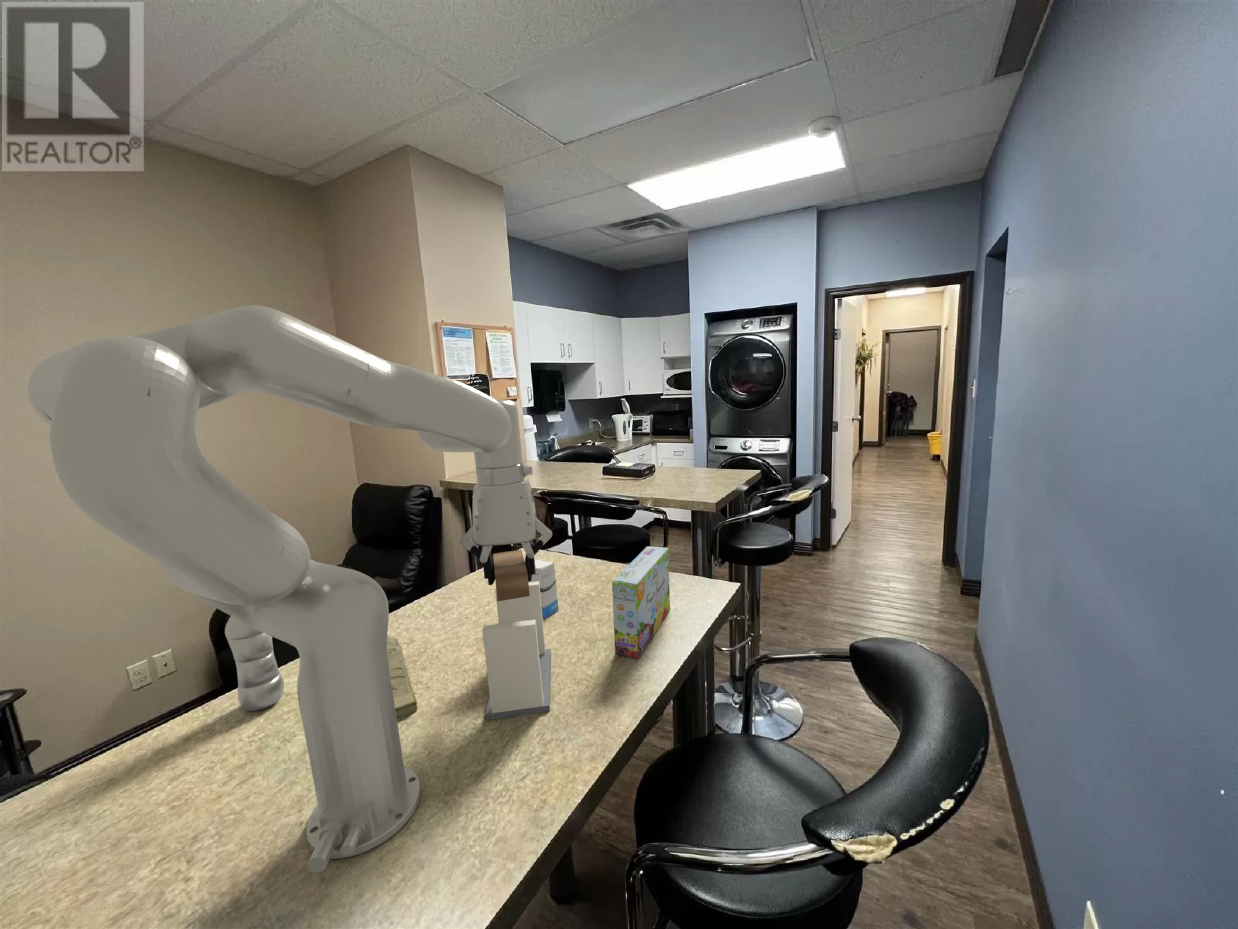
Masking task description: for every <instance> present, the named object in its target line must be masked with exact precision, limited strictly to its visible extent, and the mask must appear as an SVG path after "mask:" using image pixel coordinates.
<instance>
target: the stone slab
mask: <svg viewBox="0 0 1238 929" xmlns="http://www.w3.org/2000/svg"><path fill="white" fill-rule="evenodd" d="M387 652H388V663H389V671H390V678H391V683H392V689H393V696H394V703H395V710H396V717H397V719H400V718H402V717H405V716H407V715H410V714H412V713H415V712H417V711H418V702H417V699H416V694H415V692H414V690H413V686H412V684H411V679H410V676H409V671H408V666H407V664H406V661H405V658H404V653H403V648H402V645H401V644H400V643H399V640H398V639H397V638H396V637H388V636H387Z"/></svg>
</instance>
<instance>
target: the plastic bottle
mask: <svg viewBox="0 0 1238 929" xmlns="http://www.w3.org/2000/svg"><path fill="white" fill-rule="evenodd" d="M224 634H225V638H226V640H227V643H228V645H229V648H230V649H231V652H232V655H233V659H234V661H235V663H234V664H235V666H236V673H237V683H238V685H237V700H238V702H239V705H240V707H241V708H242V709H244V710H245V711H249V712H256V711H260V710H263V709H266V708H268V707H271V706H272V705H275V704H276V703H277V702H278V701H280V699H281V698H282V696H283V694H284V691H285V682H284V679H283V676H282V673H281V672H280V671H279V667H278V663H277V659H276V657H275V653H274V644H273V637H272V636H270V635H267V634H265V633H263V632H261V631H259V630H257V629H255V628H253V627H251V626H250V625H248V624H246V623H244V622H242V621H240V620H238V619H236V618H234V617H232V616H231V615H230V617H229V618H228V621H227V622H226V624H225V628H224Z"/></svg>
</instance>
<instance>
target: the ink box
mask: <svg viewBox="0 0 1238 929" xmlns="http://www.w3.org/2000/svg"><path fill="white" fill-rule="evenodd" d="M534 559H535V558H534ZM524 561H525V559H524ZM535 570H536V573H535V574H533V575H532V579H531V581H530V582H537V581H539V586H540V596H541V607H542V618H544V619H547V618H548V617H550V616H551V615H552V614H554V613H555V612H557V611H559V602H558V591H557V581H556V579H557V578H556V570H555V562H551V561H546V560H541V559H535Z"/></svg>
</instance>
